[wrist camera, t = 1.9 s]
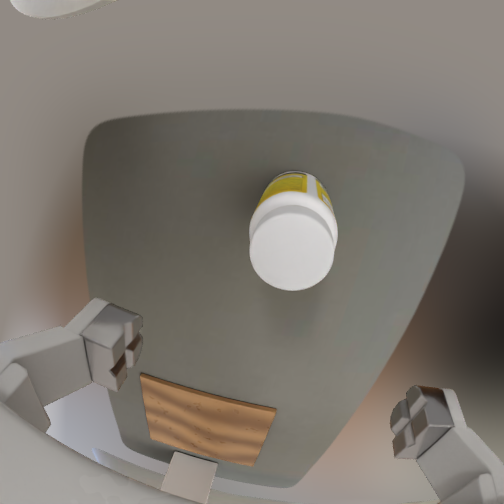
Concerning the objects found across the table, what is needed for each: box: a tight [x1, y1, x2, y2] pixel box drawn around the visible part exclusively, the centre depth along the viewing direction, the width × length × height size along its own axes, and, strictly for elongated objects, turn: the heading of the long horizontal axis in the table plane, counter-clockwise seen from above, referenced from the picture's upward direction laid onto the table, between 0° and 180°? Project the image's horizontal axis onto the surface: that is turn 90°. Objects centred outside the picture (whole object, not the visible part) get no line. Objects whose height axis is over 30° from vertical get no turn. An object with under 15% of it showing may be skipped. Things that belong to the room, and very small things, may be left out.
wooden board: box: [140, 373, 277, 466], centre depth 36 cm, size 16×16×1 cm
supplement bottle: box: [249, 171, 338, 291], centre depth 18 cm, size 5×5×8 cm
